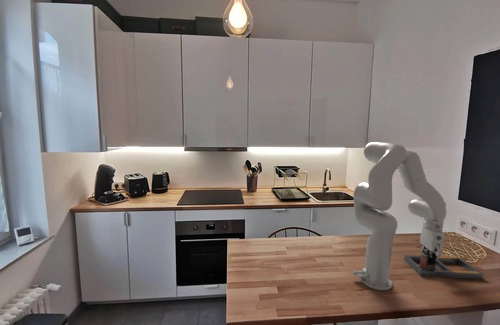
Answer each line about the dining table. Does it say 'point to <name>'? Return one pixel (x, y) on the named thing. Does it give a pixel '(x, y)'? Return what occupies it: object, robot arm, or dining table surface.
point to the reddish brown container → (426, 260)
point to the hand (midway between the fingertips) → (427, 261)
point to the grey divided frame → (444, 268)
